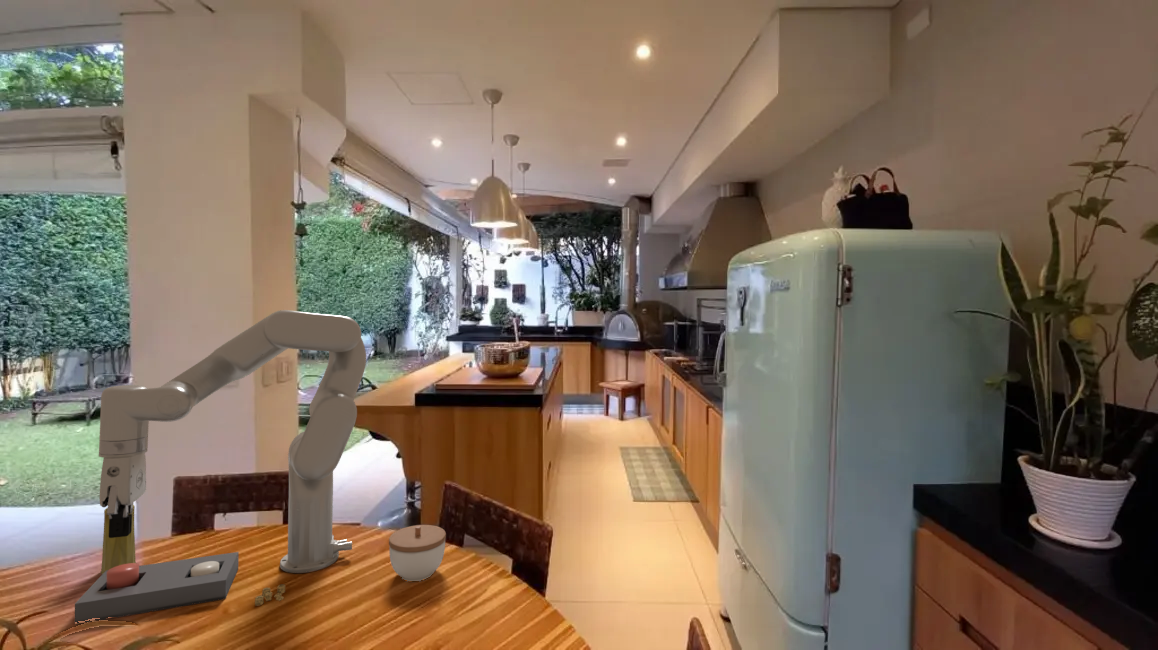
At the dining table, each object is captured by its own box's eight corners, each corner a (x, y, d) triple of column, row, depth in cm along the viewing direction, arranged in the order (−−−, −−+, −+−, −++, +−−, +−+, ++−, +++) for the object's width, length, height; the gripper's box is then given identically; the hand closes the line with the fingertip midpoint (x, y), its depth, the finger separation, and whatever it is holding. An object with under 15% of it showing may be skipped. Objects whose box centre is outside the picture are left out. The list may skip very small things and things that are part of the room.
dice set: (254, 609, 105) (254, 599, 105) (259, 596, 110) (259, 587, 110) (282, 604, 107) (282, 595, 107) (286, 592, 112) (286, 583, 112)
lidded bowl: (375, 581, 116) (376, 532, 116) (413, 557, 128) (414, 513, 128) (421, 593, 111) (422, 542, 111) (456, 567, 123) (456, 521, 123)
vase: (114, 577, 115) (115, 513, 115) (93, 573, 117) (94, 511, 117) (142, 564, 121) (143, 504, 121) (122, 561, 123) (122, 501, 123)
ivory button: (221, 573, 115) (221, 559, 115) (216, 584, 111) (216, 569, 111) (194, 578, 113) (194, 563, 113) (187, 589, 109) (187, 573, 108)
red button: (142, 576, 109) (142, 561, 109) (133, 587, 105) (133, 572, 105) (112, 580, 107) (112, 565, 107) (101, 592, 103) (102, 576, 103)
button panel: (238, 568, 120) (238, 551, 120) (225, 598, 108) (225, 579, 108) (105, 589, 110) (106, 570, 110) (74, 624, 98) (74, 603, 98)
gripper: (133, 453, 100) (129, 547, 100) (158, 437, 114) (155, 520, 114) (83, 456, 97) (78, 553, 97) (115, 439, 111) (111, 524, 111)
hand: (120, 535), depth 106 cm, fingers closed
